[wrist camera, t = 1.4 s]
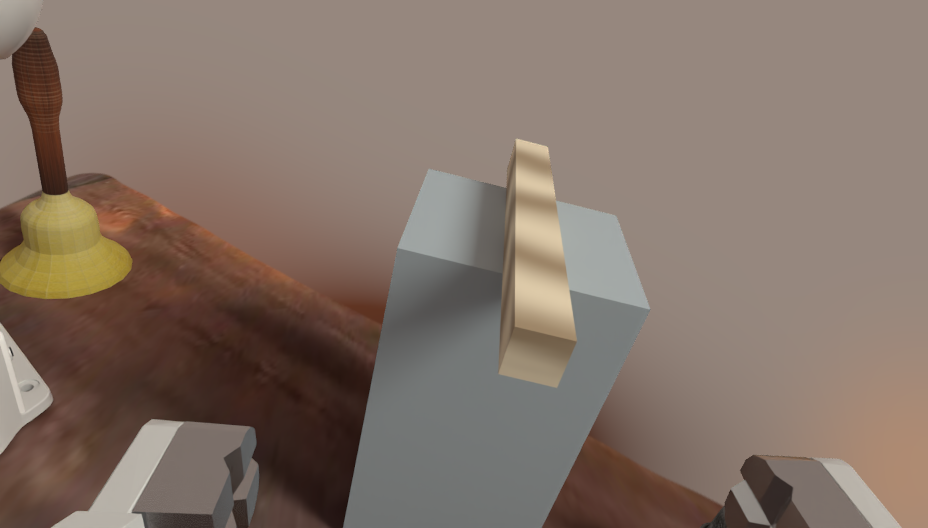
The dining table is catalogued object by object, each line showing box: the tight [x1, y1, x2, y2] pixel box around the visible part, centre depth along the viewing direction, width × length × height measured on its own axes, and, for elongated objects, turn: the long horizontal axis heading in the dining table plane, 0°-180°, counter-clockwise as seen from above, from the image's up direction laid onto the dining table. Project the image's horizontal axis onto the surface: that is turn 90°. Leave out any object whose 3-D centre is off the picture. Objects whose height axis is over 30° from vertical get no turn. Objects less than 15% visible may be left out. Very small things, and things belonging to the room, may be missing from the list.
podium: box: [343, 169, 650, 528], centre depth 41 cm, size 12×14×26 cm
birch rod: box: [498, 139, 577, 388], centre depth 32 cm, size 24×2×2 cm, turn 175°
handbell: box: [0, 27, 132, 299], centre depth 55 cm, size 12×12×25 cm
